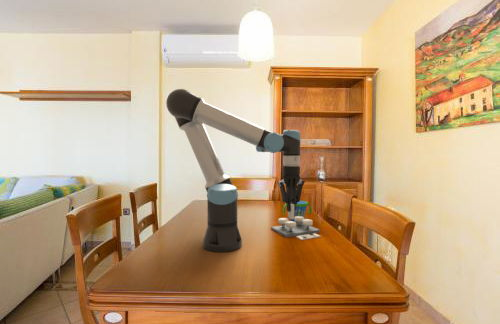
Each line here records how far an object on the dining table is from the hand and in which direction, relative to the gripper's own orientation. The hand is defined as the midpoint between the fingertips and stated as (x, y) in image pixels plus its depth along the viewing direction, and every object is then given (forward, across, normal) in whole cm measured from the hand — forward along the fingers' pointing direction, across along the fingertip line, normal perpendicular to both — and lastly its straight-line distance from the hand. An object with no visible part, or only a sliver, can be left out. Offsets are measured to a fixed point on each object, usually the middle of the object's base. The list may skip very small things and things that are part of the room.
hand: (291, 218), depth 124 cm
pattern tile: (+7, +4, -7) cm, 11 cm away
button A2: (+5, 0, +6) cm, 8 cm away
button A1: (+5, 0, 0) cm, 5 cm away
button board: (+7, +4, +3) cm, 9 cm away
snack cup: (+7, +15, +18) cm, 25 cm away
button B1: (+5, +9, 0) cm, 10 cm away
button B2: (+5, +9, +6) cm, 12 cm away
